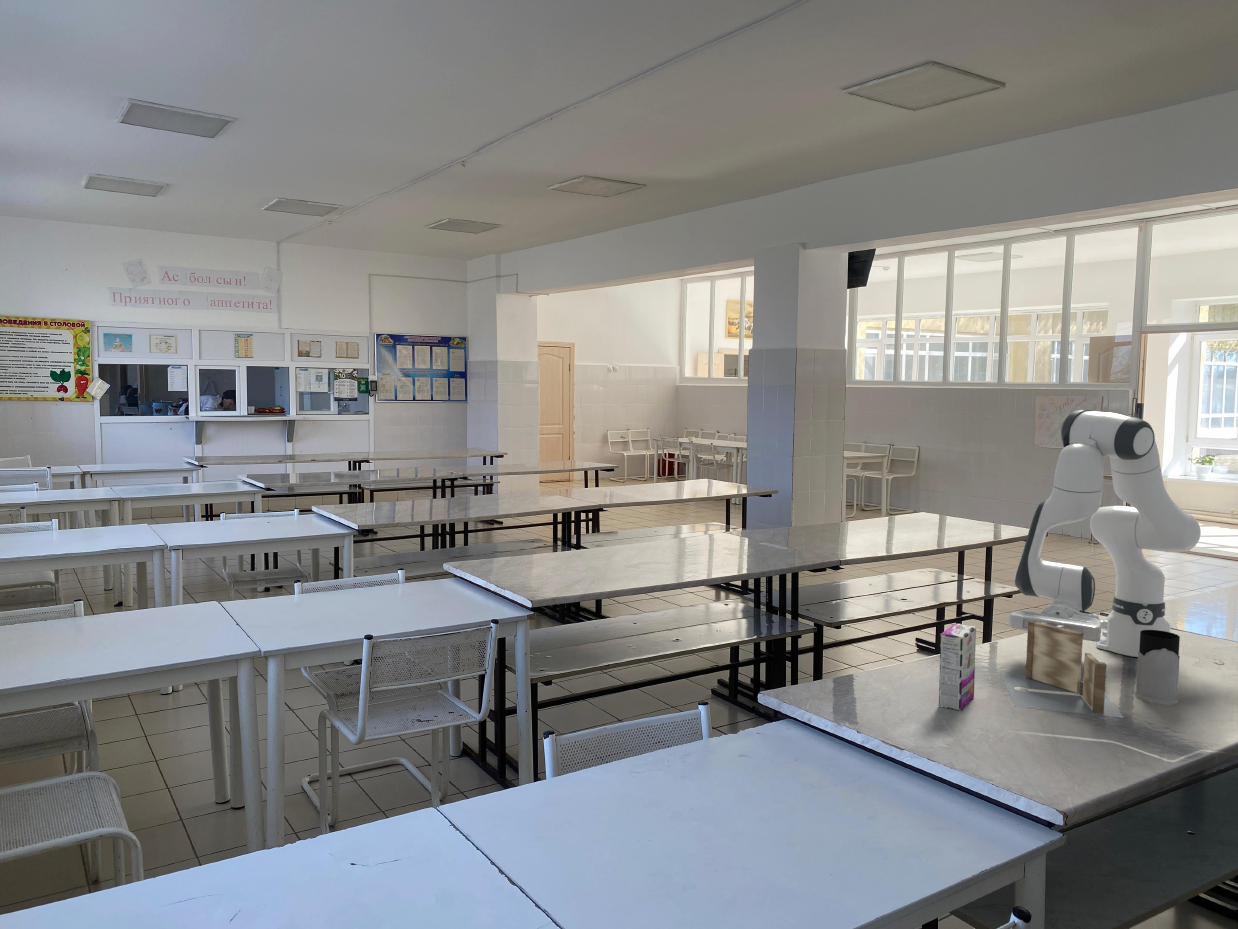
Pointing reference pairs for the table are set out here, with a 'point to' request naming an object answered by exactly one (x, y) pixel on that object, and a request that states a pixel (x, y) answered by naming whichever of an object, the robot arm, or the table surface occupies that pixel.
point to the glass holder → (1158, 667)
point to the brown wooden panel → (1054, 655)
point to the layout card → (1050, 697)
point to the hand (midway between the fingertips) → (1048, 631)
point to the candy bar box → (957, 666)
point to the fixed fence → (1094, 683)
